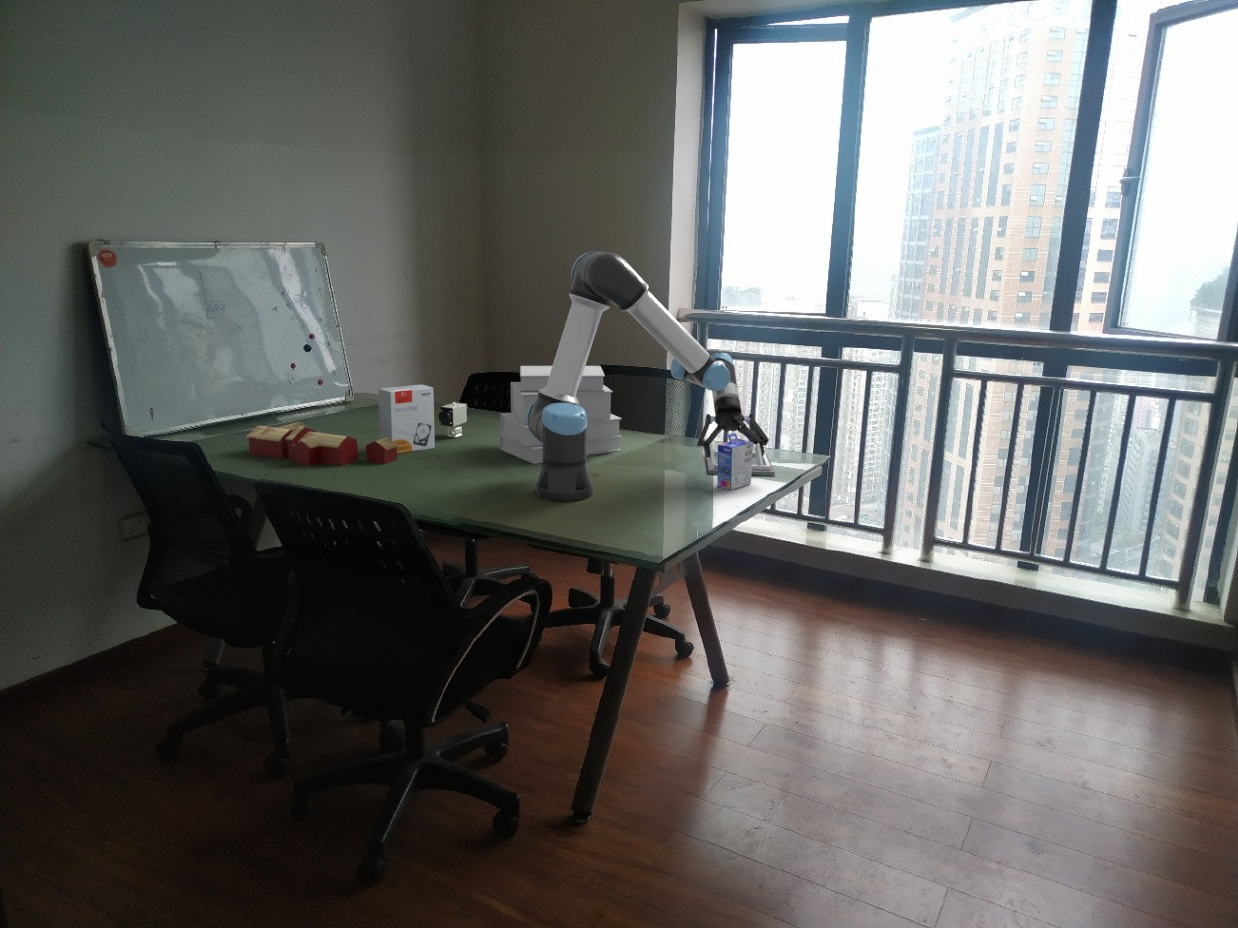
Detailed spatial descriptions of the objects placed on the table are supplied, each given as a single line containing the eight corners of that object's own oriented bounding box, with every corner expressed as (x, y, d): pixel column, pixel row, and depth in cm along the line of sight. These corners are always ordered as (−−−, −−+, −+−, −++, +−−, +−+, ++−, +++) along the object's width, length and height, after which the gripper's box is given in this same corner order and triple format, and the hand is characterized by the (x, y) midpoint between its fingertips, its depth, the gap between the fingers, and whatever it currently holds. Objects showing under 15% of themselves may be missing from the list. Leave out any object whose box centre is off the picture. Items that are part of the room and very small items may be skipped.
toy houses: (243, 457, 264) (239, 424, 261) (291, 443, 282) (289, 412, 279) (362, 474, 247) (360, 440, 244) (406, 458, 265) (404, 426, 263)
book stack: (490, 447, 280) (488, 368, 273) (581, 434, 299) (581, 360, 293) (536, 468, 256) (535, 382, 249) (632, 452, 276) (633, 372, 269)
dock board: (708, 474, 252) (709, 466, 251) (706, 456, 272) (706, 448, 272) (774, 476, 251) (774, 468, 250) (766, 458, 271) (767, 450, 271)
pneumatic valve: (470, 434, 297) (469, 399, 294) (450, 441, 286) (449, 405, 283) (457, 432, 299) (456, 398, 296) (436, 439, 289) (435, 404, 286)
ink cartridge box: (735, 479, 247) (738, 430, 243) (752, 483, 243) (754, 433, 240) (715, 486, 240) (717, 435, 236) (731, 490, 236) (733, 439, 233)
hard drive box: (391, 455, 267) (388, 392, 262) (380, 450, 273) (376, 388, 267) (436, 448, 277) (433, 386, 272) (424, 443, 283) (421, 383, 277)
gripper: (765, 409, 253) (777, 472, 242) (682, 409, 250) (690, 473, 240) (771, 394, 247) (784, 458, 236) (686, 394, 244) (694, 460, 233)
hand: (736, 466), depth 238 cm, fingers open, 13 cm apart
